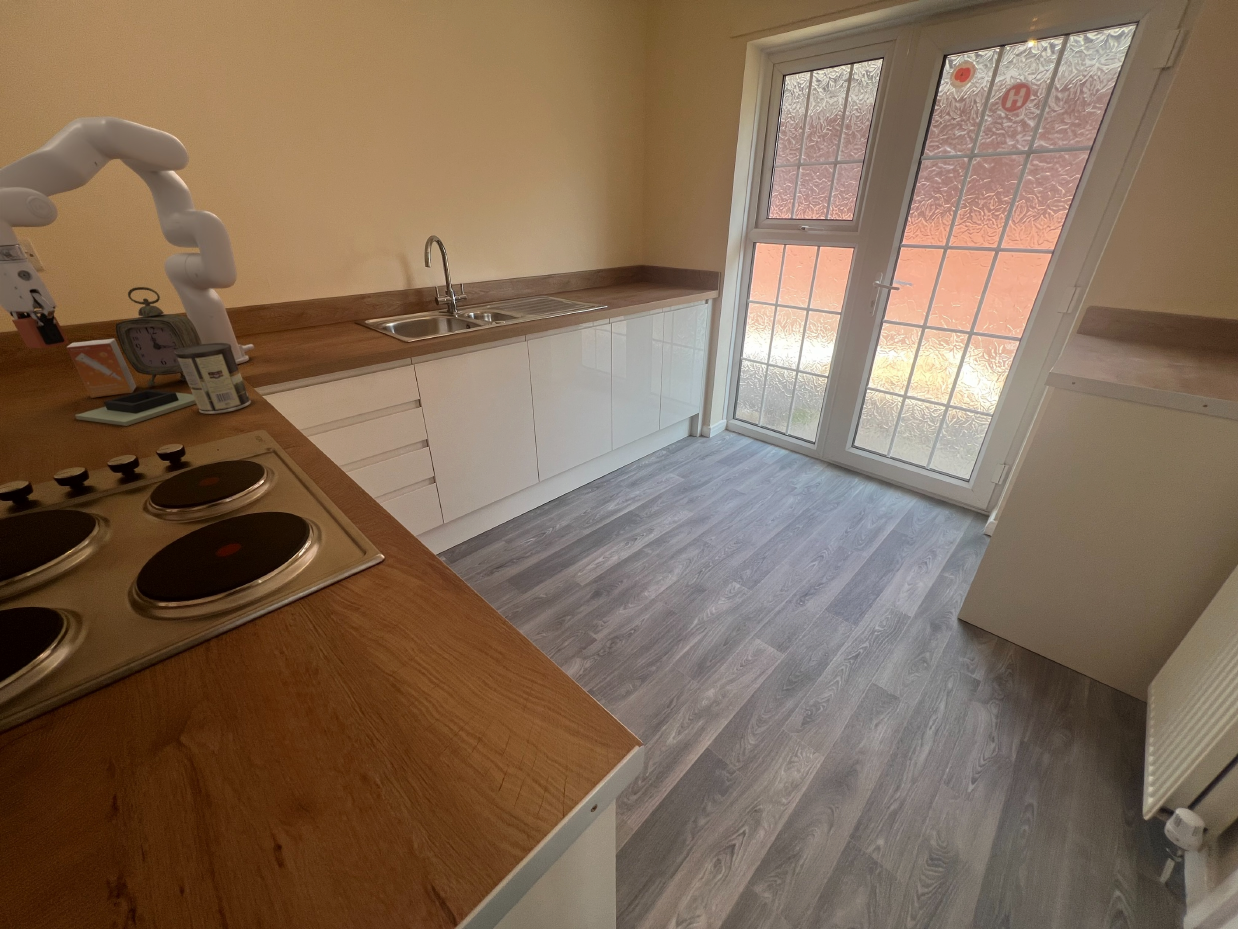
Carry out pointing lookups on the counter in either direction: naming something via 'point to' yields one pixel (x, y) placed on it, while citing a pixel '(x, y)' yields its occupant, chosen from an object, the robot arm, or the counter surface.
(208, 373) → the coffee can
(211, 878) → the counter surface
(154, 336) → the tabletop clock
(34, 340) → the pad block
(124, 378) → the small box
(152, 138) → the robot arm
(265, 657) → the counter surface
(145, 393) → the back pad
